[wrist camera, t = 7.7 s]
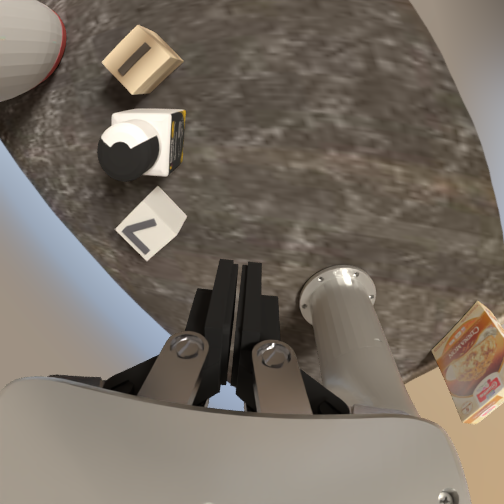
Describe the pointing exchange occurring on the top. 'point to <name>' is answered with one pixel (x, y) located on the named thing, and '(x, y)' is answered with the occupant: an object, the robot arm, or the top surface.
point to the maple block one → (141, 61)
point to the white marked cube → (152, 224)
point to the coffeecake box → (473, 363)
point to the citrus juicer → (28, 45)
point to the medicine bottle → (142, 143)
